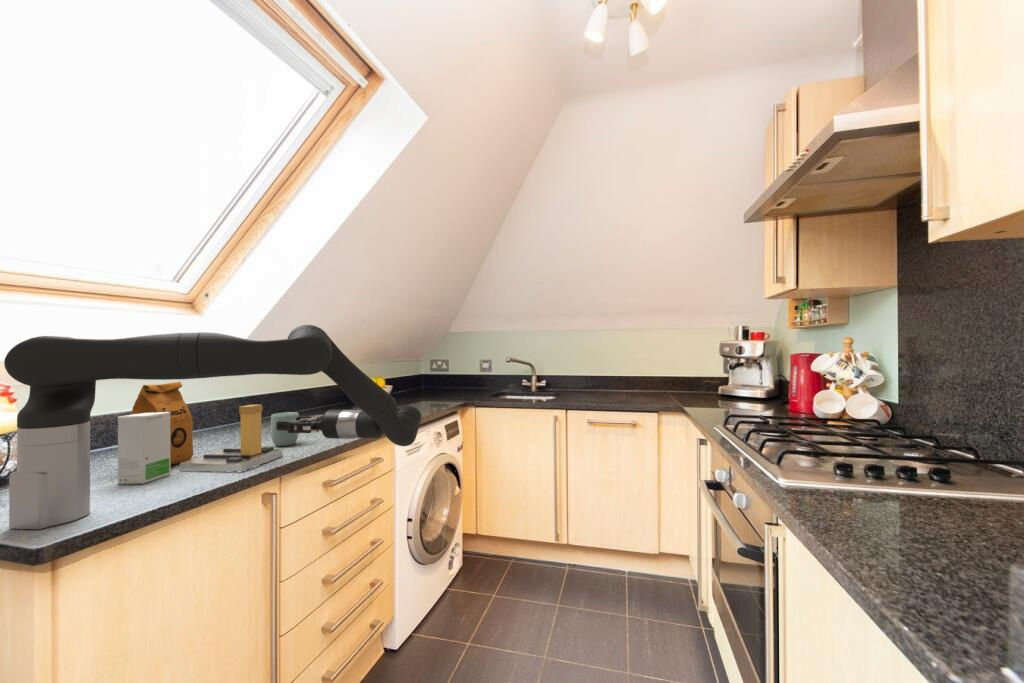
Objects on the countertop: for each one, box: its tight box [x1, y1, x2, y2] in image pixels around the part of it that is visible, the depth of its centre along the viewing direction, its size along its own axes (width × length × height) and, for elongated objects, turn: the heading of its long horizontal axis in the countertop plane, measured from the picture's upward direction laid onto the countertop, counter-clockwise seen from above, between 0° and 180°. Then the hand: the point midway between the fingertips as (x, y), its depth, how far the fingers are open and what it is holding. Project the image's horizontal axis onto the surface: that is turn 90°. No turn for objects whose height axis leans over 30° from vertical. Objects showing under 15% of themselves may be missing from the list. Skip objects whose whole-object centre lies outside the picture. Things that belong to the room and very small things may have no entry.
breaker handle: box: [238, 404, 263, 456], centre depth 118 cm, size 4×3×13 cm
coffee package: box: [131, 381, 194, 466], centre depth 117 cm, size 10×12×22 cm
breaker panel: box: [179, 446, 283, 473], centre depth 118 cm, size 16×17×3 cm
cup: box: [270, 411, 300, 447], centre depth 140 cm, size 8×8×10 cm
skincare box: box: [117, 412, 172, 485], centre depth 104 cm, size 8×7×16 cm
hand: (287, 423), depth 117 cm, fingers open, 8 cm apart
